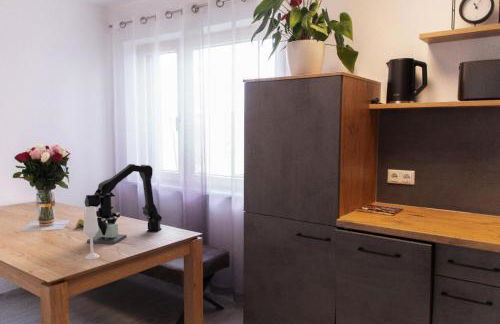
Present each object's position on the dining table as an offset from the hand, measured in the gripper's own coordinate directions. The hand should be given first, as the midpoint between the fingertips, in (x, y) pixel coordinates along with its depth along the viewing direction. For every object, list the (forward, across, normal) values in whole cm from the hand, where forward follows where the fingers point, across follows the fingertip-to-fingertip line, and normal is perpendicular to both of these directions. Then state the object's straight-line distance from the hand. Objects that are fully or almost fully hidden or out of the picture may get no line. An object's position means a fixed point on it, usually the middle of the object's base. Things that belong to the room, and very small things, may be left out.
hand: (107, 233), depth 212 cm
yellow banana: (+4, -29, -27) cm, 40 cm away
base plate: (+4, 0, 0) cm, 4 cm away
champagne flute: (+4, +26, +8) cm, 28 cm away
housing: (+1, 0, 0) cm, 1 cm away
